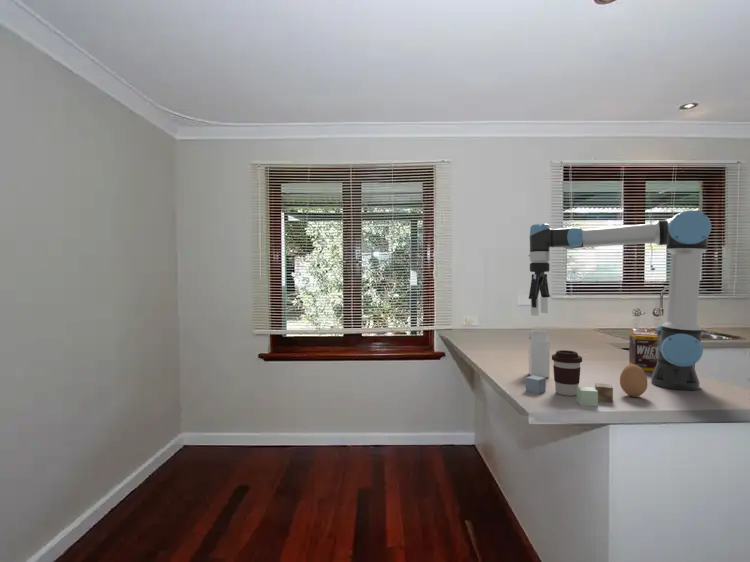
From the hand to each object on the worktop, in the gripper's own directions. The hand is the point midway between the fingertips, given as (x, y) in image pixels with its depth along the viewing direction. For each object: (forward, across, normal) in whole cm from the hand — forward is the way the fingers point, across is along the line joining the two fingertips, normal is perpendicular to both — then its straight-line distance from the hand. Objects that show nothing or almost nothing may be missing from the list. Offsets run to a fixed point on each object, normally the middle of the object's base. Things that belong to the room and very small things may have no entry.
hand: (539, 314), depth 176 cm
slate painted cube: (+26, +20, +4) cm, 34 cm away
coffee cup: (+27, +17, +14) cm, 35 cm away
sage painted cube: (+26, +26, +22) cm, 43 cm away
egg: (+27, +8, +34) cm, 44 cm away
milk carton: (+26, -5, -2) cm, 27 cm away
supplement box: (+27, -48, +33) cm, 64 cm away
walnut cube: (+26, +18, +26) cm, 41 cm away
